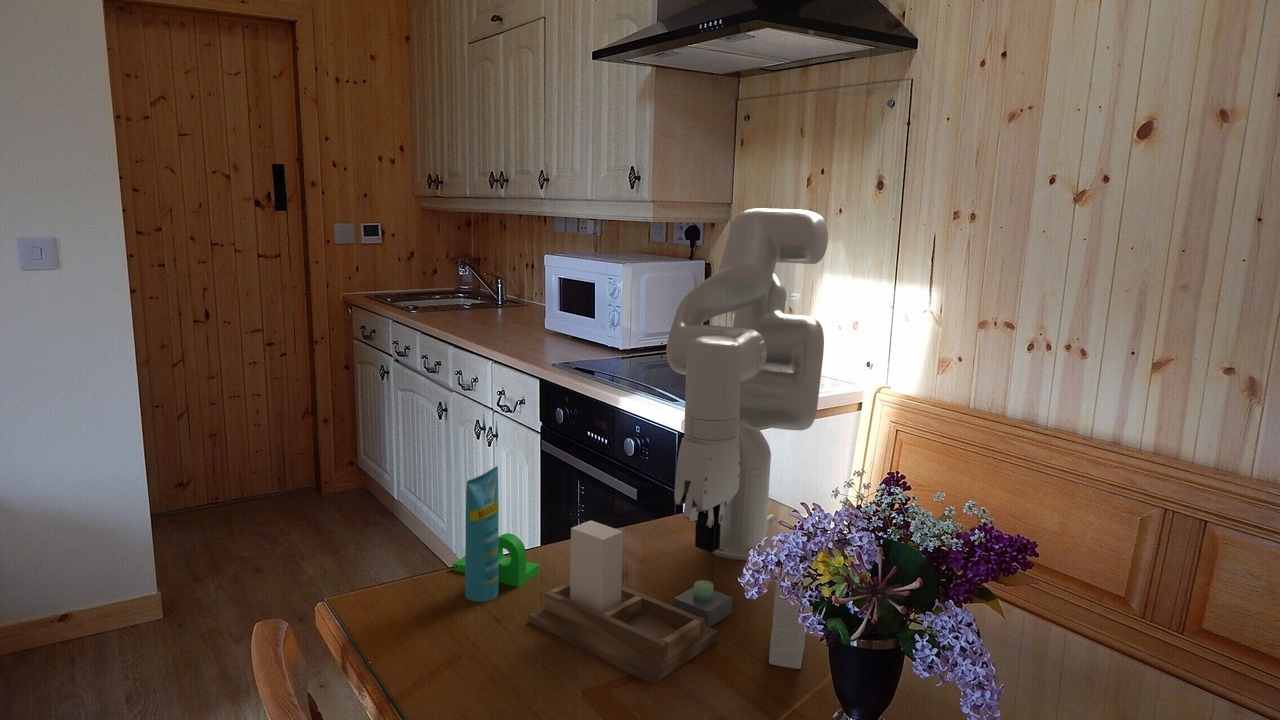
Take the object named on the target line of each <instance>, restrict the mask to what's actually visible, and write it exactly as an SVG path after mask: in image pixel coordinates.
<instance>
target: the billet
mask: <svg viewBox="0 0 1280 720" xmlns="http://www.w3.org/2000/svg"><path fill="white" fill-rule="evenodd" d="M623 541H624V531H623V530H620V529H617V528H614V527H611V526H608V525H606V524H602V523H599V522H597V521H594V520H592V519H591V520H588V521H585V522H583V523H580V524H578V525H575V526H573V527H571V528H570V565H569V566H570V568H569V569H570V571H569V573H570V577H569V581H570V599H571V600H573V601H575V602H578V603H580V604H582V605H584V606H587V607H589V608H591V609H594V610H596V611H598V612H600V613H605V612H607V611H609V610H610V609H612V608H614V607H616V606H618V605H620V604H621V586H622V578H623V577H622V576H623V547H624V546H623V543H624V542H623Z"/></svg>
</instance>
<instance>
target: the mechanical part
mask: <svg viewBox="0 0 1280 720" xmlns="http://www.w3.org/2000/svg"><path fill="white" fill-rule="evenodd" d="M503 550H506V551H507V552H508V553H509V555H510V557H509V556H505V555H504V551H503ZM526 551H527V550H526V547H525V545H524V543H523V541H522V540H521V539H520V538H519V537H518V536H516V534H512V533H508V532H507V533H503V534H502V535H500V536H499V535H498V560H499V583H500V584H505V585H509V586H512V587H515V588H520V587H521V586H522V585H524V584H525V583H527V582H528V581H530V580H531V579H532V578H534V577H535V576H537V575H538V574H540V564H539V563H536V562H530V561H527V552H526ZM461 565H463V566H461ZM456 566H459V567H456ZM453 567H455V568H453ZM452 571H454V572H455V571H456V572H459V573H463V574H465V556H463V557H461V558H460V559H458V560H457V561H454V562H453V563H452Z"/></svg>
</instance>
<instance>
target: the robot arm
mask: <svg viewBox="0 0 1280 720" xmlns="http://www.w3.org/2000/svg"><path fill="white" fill-rule="evenodd" d="M828 243H829V231H828V225H827V223H826V220H825V219H824V218H823V216H821V215H820V214H818V213H817V212H813V211H810V210H806V209H805V210H804V209H791V208H790V209H789V208H784V209H783V208H751V209H746V210H743V211H742V212H739V214H737V215H736V216H735V217H734V219H733V220H732V222H731V223H730V226H729V230H728V236H727V240H726V242H725V245H724V250H723V254H722V256H721V260H720V264H719V269H718V271H717V272H716V273H715V274H712V275H711V276H709V277H708V278H706V279H705V280H704V281H702V282H700V283H698V285H696V286H695V287H694V288H693V289H691V290H690V291H689V292H688V293H687V294H686V295H685V296H684V297H683V298H682V300H681V301H680V303H679V304H678V307H677V309H676V311H675V314H674V317H673V321H672V323H671V326H670V330H669V333H668V338H667V342H666V354H665V355H666V360H667V364H668V365H669V367H670V368H671V369H672V370H673V371H674V372H675V373H677V374H680V375H685V397H684V400H685V401H684V427H683V428H684V429H683V431H684V432H683V433H684V436H683V437H682V438H681V443H680V445H679V450H678V455H677V462H676V472H675V479H674V480H675V482H674V502H675V504H676V505H677V506H682V505H684V508H683V512H682V513H683V514H682V518H683V519H685V520H687V521H689V522H690V521H692V522H693V523H695V531H694V532H695V533H694V534H695V535H694V538H695V539H694V540H695V541H694V546H695V547H696V549H700V550H703V551H704V552H705V551H706V552H709V553H710V554H712V555H714V556H717V557H721V558H724V559H730V560H740V561H744V562H748V561H747V559H748V554H749V551H750V550H751V549H752V548H753V547H754V546H755V545H756V544H757V543H758V542H759V541H760V540H762V539H763V538H765V537H770V536H769V535H768V533H767V532H768V529H769V528H770V527H771V526H773V525H775V524H777V517H776V515H775V514H772V513H771V514H768V512H769V510H768V509H769V495H770V494H769V492H770V478H771V477H770V476H771V475H770V474H771V462H772V452H771V448H770V445H769V443H768V440H767V438H766V437H765V435H764V434H763V433H762V431H761V430H760V428H767V429H775V430H776V429H778V430H787V431H806V430H808V429H810V427H812V425H813V423H814V422H815V419H816V417H817V412H818V405H819V404H818V403H819V397H820V395H819V394H820V387H821V378H822V368H823V361H824V360H823V359H824V351H825V339H824V338H825V336H824V335H825V333H824V330H823V326H822V324H821V323H820V322H819V320H818V319H816V318H814V317H811V316H809V315H800V314H788V313H785V309H786V302H787V290H786V289H785V286H784V285H783V283H782V281H781V280H780V278H779V277H778V276H777V274H776V273H774V272H775V268H776V263H783V264H785V263H786V264H802V265H803V264H805V265H807V264H808V265H816V264H818V263H819V262H820V261H822V259H823V258H824V256H825V254H826V251H827V248H828ZM731 312H734V316H733V321H732V322H733V324H732V326H723V325H713V324H712V325H711V324H703V323H705V322H707V321H709V320H710V319H713V318H715V317H718V316H722V315H724V314H728V313H731ZM766 369H768V370H766ZM769 369H775V370H776V369H777V370H786V371H791V372H785V371H775V370H769Z"/></svg>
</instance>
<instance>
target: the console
mask: <svg viewBox="0 0 1280 720" xmlns="http://www.w3.org/2000/svg"><path fill="white" fill-rule="evenodd" d="M673 607H676V608H678V609H681V610H683V611H686V612H688V613H691V614H693V615H696V616H698V617H701V618H703V619H705V626H707V627H709V628H712V626H714V625H715V624H717V623H718V622H720V621H722V620H724V618H727V617H728V616H729V615H731V614H732V612H733V608H732V607H733V597H732V596H730V595H727V594H725V593H724V592H723V593H722V592H719V591H717V590H715V589H713V600H712V601H710V602H699V601H697V600H695V599H694V586H693V587H691V588H690V589H687V590H686V591H684V592H683V593H681V594H679V595H676V596H675V597H674V598H673Z"/></svg>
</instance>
